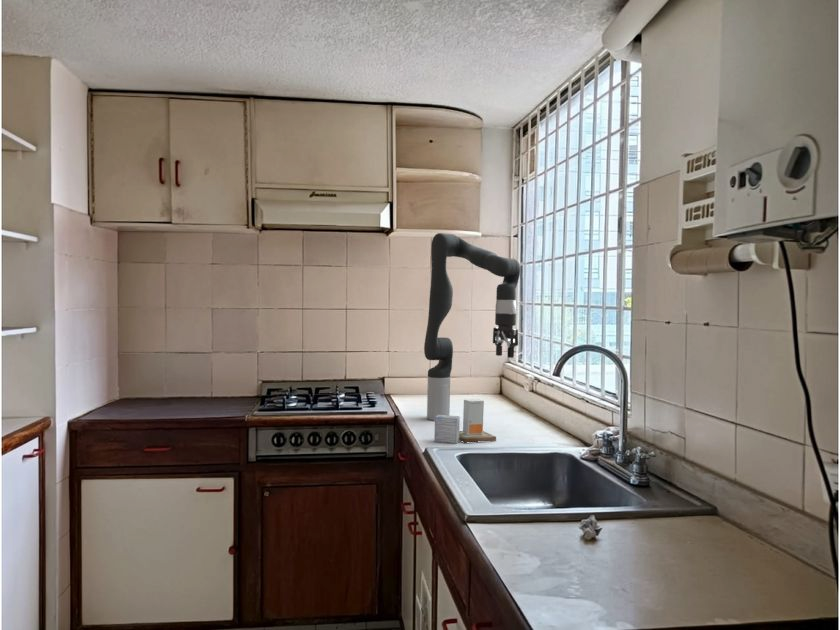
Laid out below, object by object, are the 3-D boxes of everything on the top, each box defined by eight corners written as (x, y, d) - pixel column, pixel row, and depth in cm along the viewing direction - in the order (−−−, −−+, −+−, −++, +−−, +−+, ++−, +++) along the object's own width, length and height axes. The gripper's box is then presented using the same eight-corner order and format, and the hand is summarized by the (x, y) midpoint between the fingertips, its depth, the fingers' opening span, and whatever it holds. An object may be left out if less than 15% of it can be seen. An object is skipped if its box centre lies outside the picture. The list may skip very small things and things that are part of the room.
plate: (449, 435, 219) (450, 431, 219) (479, 433, 223) (480, 429, 223) (464, 443, 208) (464, 438, 208) (496, 441, 212) (496, 436, 212)
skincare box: (467, 435, 212) (468, 401, 212) (462, 433, 216) (463, 399, 216) (483, 434, 214) (484, 400, 214) (478, 432, 218) (478, 398, 218)
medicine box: (459, 441, 211) (460, 416, 211) (456, 443, 207) (457, 418, 207) (437, 439, 213) (437, 414, 213) (434, 442, 209) (434, 416, 209)
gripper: (487, 311, 230) (486, 355, 230) (506, 312, 217) (505, 358, 217) (504, 312, 233) (503, 354, 233) (524, 313, 220) (523, 358, 220)
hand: (504, 356), depth 225 cm, fingers open, 8 cm apart
